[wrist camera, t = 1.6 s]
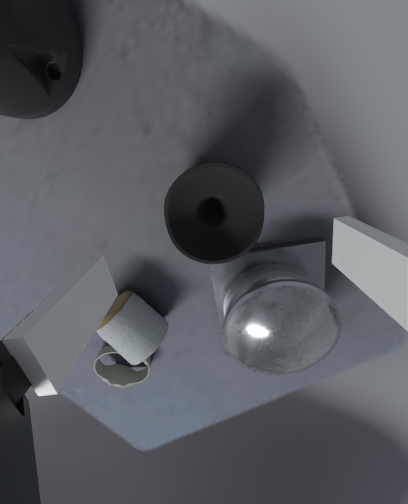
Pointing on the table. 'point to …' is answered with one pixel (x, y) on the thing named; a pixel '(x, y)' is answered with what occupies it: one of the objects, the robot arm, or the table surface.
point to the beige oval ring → (119, 371)
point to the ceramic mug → (133, 328)
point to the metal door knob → (276, 307)
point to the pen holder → (214, 213)
